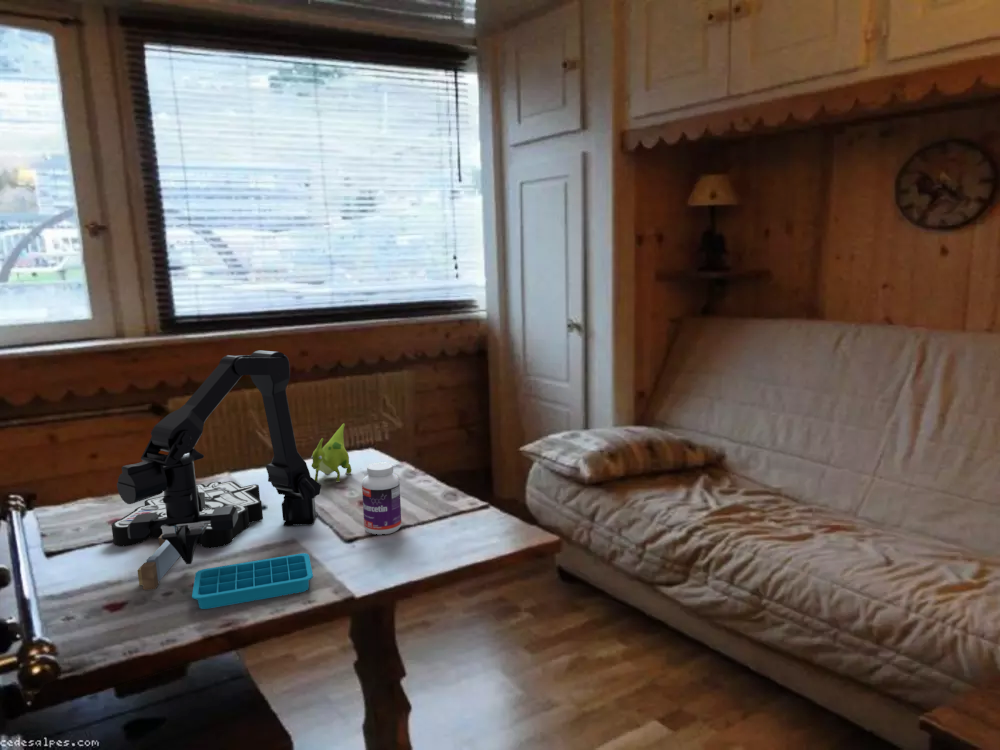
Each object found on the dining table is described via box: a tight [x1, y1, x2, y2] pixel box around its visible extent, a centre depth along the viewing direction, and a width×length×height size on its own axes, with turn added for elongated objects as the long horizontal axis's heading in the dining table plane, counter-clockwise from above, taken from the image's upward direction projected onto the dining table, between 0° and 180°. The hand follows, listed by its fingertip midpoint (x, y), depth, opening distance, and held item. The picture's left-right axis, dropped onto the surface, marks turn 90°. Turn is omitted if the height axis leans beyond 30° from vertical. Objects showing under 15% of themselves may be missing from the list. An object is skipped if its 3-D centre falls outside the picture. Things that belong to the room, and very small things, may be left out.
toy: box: [310, 423, 353, 483], centre depth 190 cm, size 8×21×15 cm, turn 171°
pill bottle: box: [361, 461, 402, 536], centre depth 154 cm, size 8×8×14 cm
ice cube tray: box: [191, 552, 314, 610], centre depth 130 cm, size 12×20×3 cm, turn 109°
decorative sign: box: [110, 480, 264, 549], centre depth 163 cm, size 28×4×30 cm
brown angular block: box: [158, 534, 166, 547], centre depth 145 cm, size 2×3×4 cm, turn 5°
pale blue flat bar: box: [146, 540, 181, 583], centre depth 139 cm, size 2×15×5 cm, turn 5°
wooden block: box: [137, 561, 159, 591], centre depth 132 cm, size 4×5×4 cm
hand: (189, 563), depth 138 cm, fingers closed
